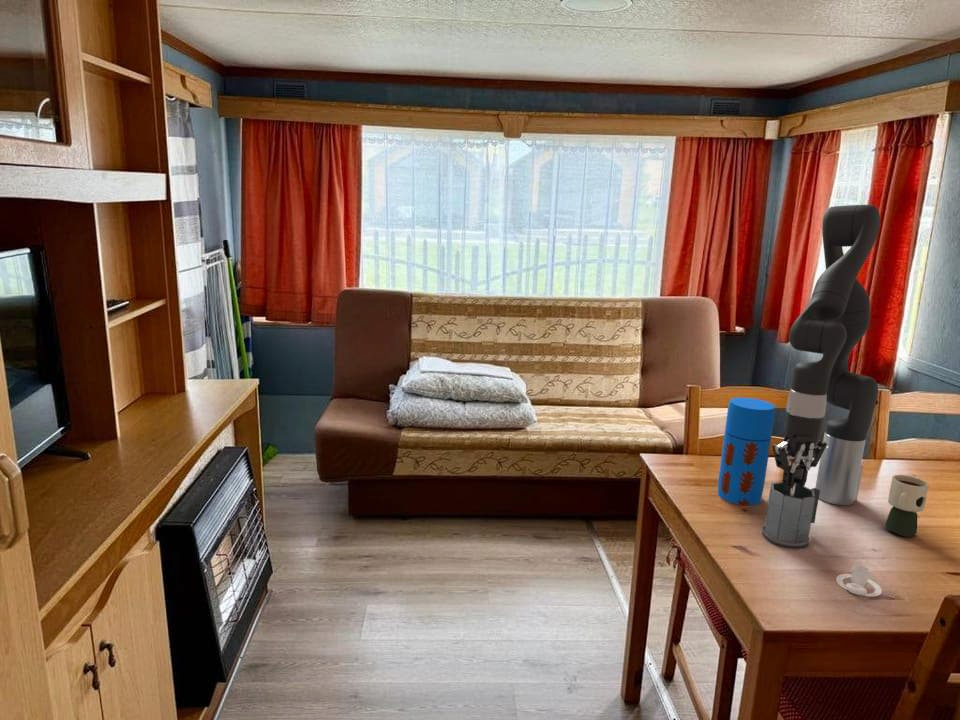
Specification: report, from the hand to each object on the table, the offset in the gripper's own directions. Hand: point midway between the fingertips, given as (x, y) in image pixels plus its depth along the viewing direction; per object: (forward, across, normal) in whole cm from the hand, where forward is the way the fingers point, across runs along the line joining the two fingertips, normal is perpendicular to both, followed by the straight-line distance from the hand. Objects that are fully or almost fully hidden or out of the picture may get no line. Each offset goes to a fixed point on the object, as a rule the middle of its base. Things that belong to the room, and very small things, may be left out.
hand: (793, 485), depth 146 cm
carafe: (+13, -1, 0) cm, 13 cm away
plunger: (+10, 0, 0) cm, 10 cm away
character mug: (+13, -29, +6) cm, 32 cm away
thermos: (+13, -6, -21) cm, 25 cm away
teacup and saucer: (+14, +3, +18) cm, 23 cm away
